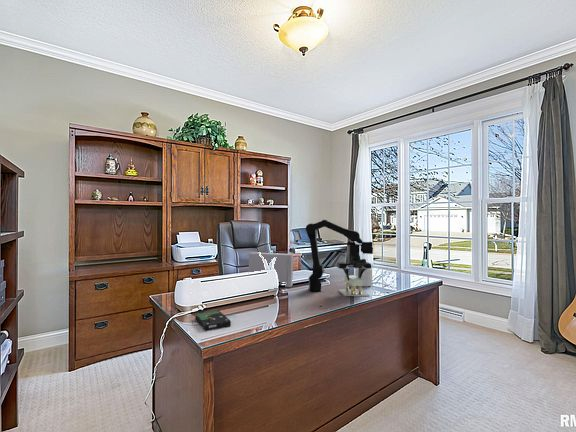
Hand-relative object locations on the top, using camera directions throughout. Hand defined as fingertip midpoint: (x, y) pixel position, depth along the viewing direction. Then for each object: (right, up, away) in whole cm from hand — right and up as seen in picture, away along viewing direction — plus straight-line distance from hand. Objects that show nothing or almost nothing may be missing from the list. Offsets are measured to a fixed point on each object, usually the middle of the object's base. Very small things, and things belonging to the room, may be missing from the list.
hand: (353, 280), depth 169 cm
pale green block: (0, -2, 0) cm, 2 cm away
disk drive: (-68, -7, -49) cm, 84 cm away
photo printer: (+11, -8, +19) cm, 24 cm away
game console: (-48, -7, +17) cm, 52 cm away
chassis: (0, -8, 0) cm, 8 cm away
